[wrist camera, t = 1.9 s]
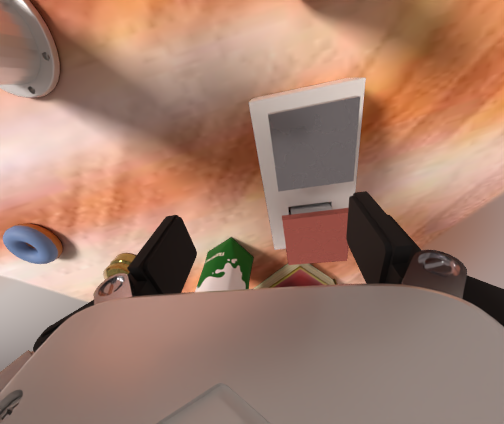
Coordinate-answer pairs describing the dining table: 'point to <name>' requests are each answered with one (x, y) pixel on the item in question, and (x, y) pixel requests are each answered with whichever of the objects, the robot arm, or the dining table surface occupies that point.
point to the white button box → (261, 128)
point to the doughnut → (32, 243)
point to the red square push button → (315, 234)
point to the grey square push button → (315, 143)
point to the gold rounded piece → (118, 265)
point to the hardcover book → (296, 277)
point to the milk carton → (226, 268)
